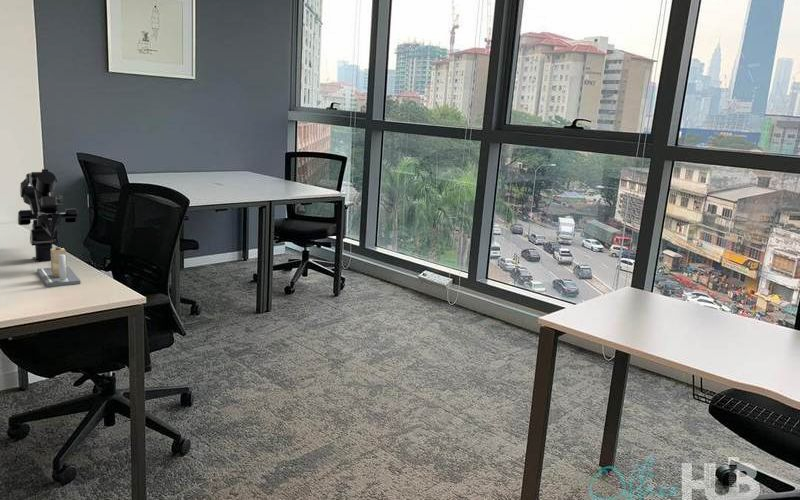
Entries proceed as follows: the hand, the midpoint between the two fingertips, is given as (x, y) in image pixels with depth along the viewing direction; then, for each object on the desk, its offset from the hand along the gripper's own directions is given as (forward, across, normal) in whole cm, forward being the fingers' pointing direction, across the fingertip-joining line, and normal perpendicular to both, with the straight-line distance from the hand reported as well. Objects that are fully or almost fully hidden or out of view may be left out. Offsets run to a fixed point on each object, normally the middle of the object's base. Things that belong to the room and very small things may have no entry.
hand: (52, 235), depth 216 cm
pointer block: (+15, 0, +2) cm, 15 cm away
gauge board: (+15, 0, +4) cm, 16 cm away
